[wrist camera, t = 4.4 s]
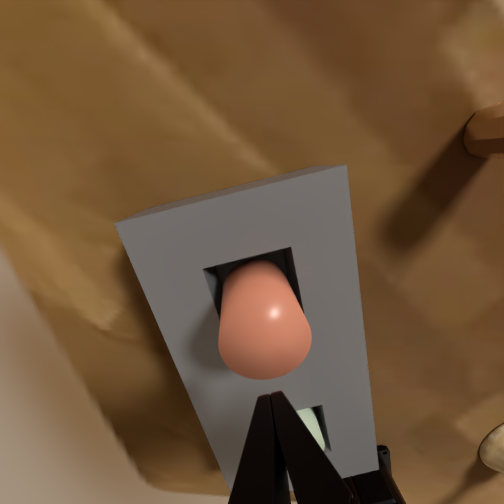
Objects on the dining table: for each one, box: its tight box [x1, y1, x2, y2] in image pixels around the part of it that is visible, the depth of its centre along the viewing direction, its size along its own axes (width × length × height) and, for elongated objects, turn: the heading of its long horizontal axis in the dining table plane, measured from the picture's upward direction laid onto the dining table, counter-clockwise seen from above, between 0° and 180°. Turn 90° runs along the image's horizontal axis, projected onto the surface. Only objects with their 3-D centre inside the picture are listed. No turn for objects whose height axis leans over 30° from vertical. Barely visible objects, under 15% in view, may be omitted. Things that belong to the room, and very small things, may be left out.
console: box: [114, 165, 379, 492], centre depth 19 cm, size 24×12×5 cm, turn 14°
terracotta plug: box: [218, 259, 312, 380], centre depth 13 cm, size 4×4×5 cm
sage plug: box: [296, 407, 325, 451], centre depth 20 cm, size 4×4×5 cm
